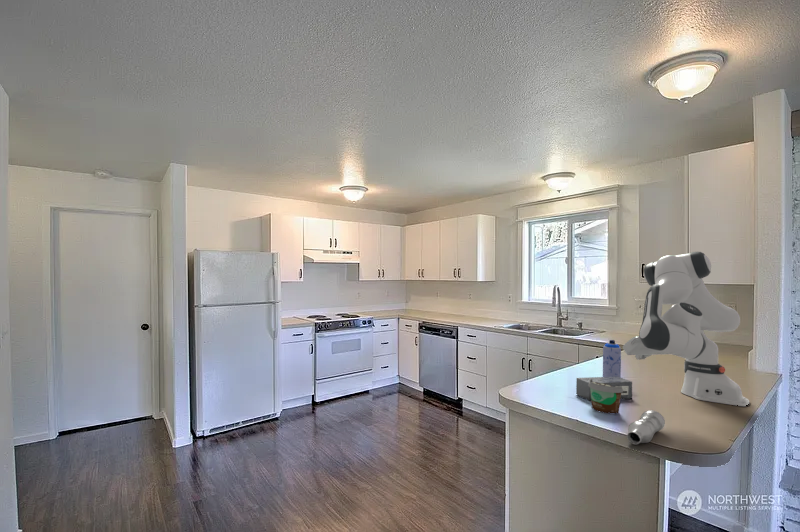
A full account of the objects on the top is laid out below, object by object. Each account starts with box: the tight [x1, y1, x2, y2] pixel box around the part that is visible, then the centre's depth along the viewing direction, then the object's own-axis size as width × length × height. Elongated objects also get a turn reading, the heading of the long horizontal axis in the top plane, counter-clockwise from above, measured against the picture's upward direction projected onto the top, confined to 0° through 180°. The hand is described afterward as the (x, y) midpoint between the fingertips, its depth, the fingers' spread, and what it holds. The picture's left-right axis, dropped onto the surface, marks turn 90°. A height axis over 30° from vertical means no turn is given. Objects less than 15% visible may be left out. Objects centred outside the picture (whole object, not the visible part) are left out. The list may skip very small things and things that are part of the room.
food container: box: [588, 379, 623, 414], centre depth 146 cm, size 12×6×10 cm, turn 34°
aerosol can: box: [602, 339, 622, 378], centre depth 184 cm, size 8×8×20 cm
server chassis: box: [575, 376, 633, 402], centre depth 162 cm, size 20×8×7 cm, turn 102°
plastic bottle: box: [626, 409, 666, 445], centre depth 122 cm, size 6×7×20 cm
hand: (639, 357), depth 149 cm, fingers closed
